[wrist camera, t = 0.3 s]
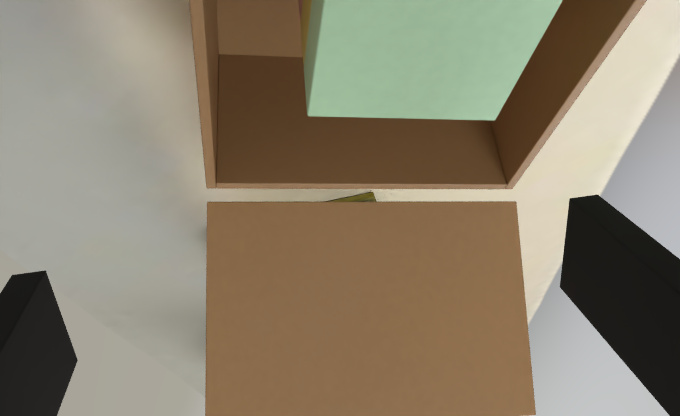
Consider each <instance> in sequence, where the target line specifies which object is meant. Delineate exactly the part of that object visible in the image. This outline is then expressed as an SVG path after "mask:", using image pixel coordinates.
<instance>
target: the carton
mask: <svg viewBox="0 0 680 416" xmlns="http://www.w3.org/2000/svg"><path fill="white" fill-rule="evenodd" d="M646 1H647V0H563V1H562V3H561V4H560V6H559V8H558V10H557V11H556V13H555V15H554V17H553V19H552V20H551V22H550V24H549V26H548V27H547V29H546V31H545V33H544V34H543V36H542V38H541V40H540V42H539V43H538V45H537V47H536V49H535V50H534V52H533V54H532V56H531V57H530V59H529V61H528V63H527V65H526V66H525V68H524V70H523V72H522V73H521V75H520V77H519V79H518V81H517V82H516V84H515V86H514V88H513V89H512V91H511V93H510V95H509V96H508V98H507V100H506V102H505V104H504V105H503V107H502V109H501V111H500V112H499V114H498V116H497V118H496V119H495V120H451V119H407V118H364V117H320V116H308V115H307V106H306V93H305V80H304V64H303V52H302V39H301V26H300V15H299V1H298V0H189V6H190V17H191V27H192V38H193V49H194V59H195V70H196V81H197V91H198V102H199V113H200V123H201V134H202V145H203V155H204V166H205V177H206V187H207V188H278V189H504V188H505V189H513V187H514V186H515V184H516V183H517V182H518V180H519V179H520V177H521V176H522V175H523V173H524V172H525V170H526V169H527V168H528V166H529V165H530V163H531V162H532V161H533V159H534V158H535V156H536V155H537V154H538V152H539V151H540V149H541V148H542V147H543V145H544V144H545V142H546V141H547V140H548V138H549V137H550V135H551V134H552V133H553V131H554V130H555V128H556V127H557V125H558V124H559V123H560V121H561V120H562V118H563V117H564V116H565V114H566V113H567V111H568V110H569V109H570V107H571V106H572V104H573V103H574V102H575V100H576V99H577V97H578V96H579V95H580V93H581V92H582V90H583V89H584V88H585V86H586V85H587V83H588V82H589V81H590V79H591V78H592V76H593V75H594V74H595V72H596V71H597V69H598V68H599V67H600V65H601V64H602V62H603V61H604V60H605V58H606V57H607V55H608V54H609V52H610V51H611V50H612V48H613V47H614V45H615V44H616V43H617V41H618V40H619V38H620V37H621V36H622V34H623V33H624V31H625V30H626V29H627V27H628V26H629V24H630V23H631V22H632V20H633V19H634V17H635V16H636V15H637V13H638V12H639V10H640V9H641V8H642V6H643V5H644V3H645V2H646Z"/></svg>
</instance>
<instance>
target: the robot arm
mask: <svg viewBox="0 0 680 416" xmlns="http://www.w3.org/2000/svg"><path fill="white" fill-rule="evenodd" d="M560 288H561V289H562V290H563V291H564V292H565V293H566V295H567V296H568V297H569V298H570V299H571V300H572V302H573V303H574V304H575V305H576V306H577V307H578V309H579V310H580V311H581V312H582V313H583V315H584V316H585V317H586V318H587V319H588V320H589V321H590V323H591V324H592V325H593V326H594V327H595V329H597V331H598V332H599V333H600V334H601V336H602V337H603V338H604V339H605V340H606V341H607V342H608V344H609V345H610V346H611V347H612V348H613V350H614V351H615V352H616V353H617V354H618V355H619V357H620V358H621V359H622V360H623V361H624V362H625V364H626V365H627V366H628V367H629V368H630V370H631V371H632V372H633V373H634V374H635V375H636V377H638V379H639V380H640V381H641V382H642V384H643V385H644V386H645V387H646V388H647V389H648V391H649V392H650V393H651V394H652V395H653V396H654V397H655V399H656V400H657V401H658V402H659V404H660V405H661V406H662V407H663V408H664V409H665V411H666V412H667V413H668V414H669V415H670V416H680V259H679V258H678V257H676V256H675V255H673V254H672V253H671V252H670V251H669V250H667V249H666V248H665V247H663V246H662V245H661V244H660V243H658V242H657V241H656V240H655V239H653V238H652V237H651V236H649V235H648V234H647V233H646V232H644V231H643V230H642V229H641V228H639V227H638V226H637V225H635V224H634V223H633V222H632V221H630V220H629V219H628V218H627V217H625V216H624V215H623V214H621V213H620V212H619V211H617V210H616V209H615V208H614V207H613V206H611V205H610V204H609V203H608V202H606V201H605V200H604V199H602V198H601V197H600V196H599V195H592V196H585V197H578V198H570V201H569V210H568V219H567V228H566V237H565V246H564V255H563V264H562V273H561V282H560ZM76 363H77V358H76V355H75V352H74V349H73V346H72V343H71V340H70V338H69V335H68V332H67V330H66V326H65V324H64V321H63V318H62V315H61V312H60V310H59V307H58V304H57V301H56V298H55V296H54V293H53V290H52V287H51V284H50V281H49V279H48V276H47V273H46V271H39V272H32V273H24V274H17V275H12V276H11V278H10V279H9V281H8V282H7V284H6V286H5V287H4V289H3V290H2V292H1V293H0V416H57V414H58V411H59V408H60V406H61V403H62V400H63V398H64V395H65V392H66V389H67V387H68V384H69V382H70V379H71V376H72V373H73V371H74V368H75V366H76Z"/></svg>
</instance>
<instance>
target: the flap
mask: <svg viewBox="0 0 680 416" xmlns="http://www.w3.org/2000/svg"><path fill="white" fill-rule="evenodd" d="M535 414H536V411H535V400H534V389H533V379H532V367H531V358H530V347H529V335H528V324H527V313H526V302H525V292H524V281H523V270H522V259H521V248H520V237H519V226H518V216H517V205H516V202H207V277H206V402H205V416H529V415H535Z"/></svg>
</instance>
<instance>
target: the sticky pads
mask: <svg viewBox="0 0 680 416" xmlns="http://www.w3.org/2000/svg"><path fill="white" fill-rule="evenodd" d="M298 1H299V15H300V26H301V39H302V52H303V64H304V80H305V93H306V106H307V115H308V116H320V117H364V118H407V119H451V120H495V119H496V118H497V116H498V114H499V112H500V111H501V109H502V107H503V105H504V104H505V102H506V100H507V98H508V96H509V95H510V93H511V91H512V89H513V88H514V86H515V84H516V82H517V81H518V79H519V77H520V75H521V73H522V72H523V70H524V68H525V66H526V65H527V63H528V61H529V59H530V57H531V56H532V54H533V52H534V50H535V49H536V47H537V45H538V43H539V42H540V40H541V38H542V36H543V34H544V33H545V31H546V29H547V27H548V26H549V24H550V22H551V20H552V19H553V17H554V15H555V13H556V11H557V10H558V8H559V6H560V4H561V3H562V1H563V0H298Z"/></svg>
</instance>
